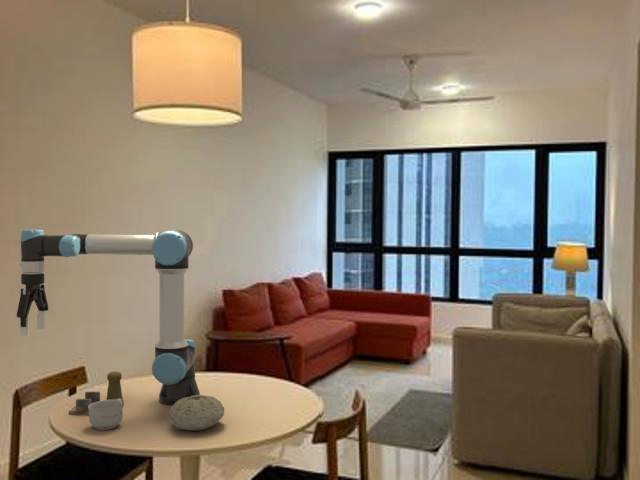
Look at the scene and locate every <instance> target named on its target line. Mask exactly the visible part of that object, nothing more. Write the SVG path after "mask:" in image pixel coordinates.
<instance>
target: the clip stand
mask: <svg viewBox="0 0 640 480" xmlns="http://www.w3.org/2000/svg"><path fill="white" fill-rule="evenodd" d="M98 401H101V391H85V392H84V398H76V399H75V406H73V407H72V408H71V409H70V410H69V411H68V415H89V408H88V406H89V405H90V404H92V403H94V402H98Z"/></svg>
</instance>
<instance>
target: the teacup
mask: <svg viewBox="0 0 640 480" xmlns="http://www.w3.org/2000/svg"><path fill="white" fill-rule="evenodd" d="M124 407H125V401H124V399H117V400H106V399H103V400H100V401H98V402H94V403H92V404H90V405H89V406H88V408H89V414H88V417H89V419H88V420H89V423H90V424H89V425H91V426H92V427H93V428H94V429H96V430H99V431H108V430H111V429H114V428H116V427H118V426H119V424H120V423H121V422H122V421H123V416H124V415H123V414H124V413H123V410H124V409H123V408H124Z"/></svg>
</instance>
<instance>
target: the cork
mask: <svg viewBox="0 0 640 480" xmlns="http://www.w3.org/2000/svg"><path fill="white" fill-rule="evenodd" d="M106 377H107V381H108V385H107V392H106V398H105V400H117V399H123V393H122V392H123V391H122V385H121V379H122V377H123V376H122V372H120V371H110V372H108V373H107V376H106ZM123 400H124V399H123Z"/></svg>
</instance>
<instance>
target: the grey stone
mask: <svg viewBox="0 0 640 480" xmlns="http://www.w3.org/2000/svg"><path fill="white" fill-rule="evenodd" d="M170 406H171V407H170V408H171V409H170V412H169V418H170V420H171V421H170V422H171V423H172V424H173V425H174V426H175V427H176V428H177V429H179V430H184V431H193V432H195V431H201V430H202V431H203V430H207V429H209V428H211V427H213V426H215V425H217V424H218V423H219V422H220V421H221V420H222V419H223V417H224V415H225V406H224V405H223V404H222V402H221V401H220V400H218V399H217V398H216V397H214V396H210V395H201V394H200V395H195V396H194V395H193V396H190V397H186V398H182V399H180V400H178V401H177V402H176V403H175V404H174V405H170Z"/></svg>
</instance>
